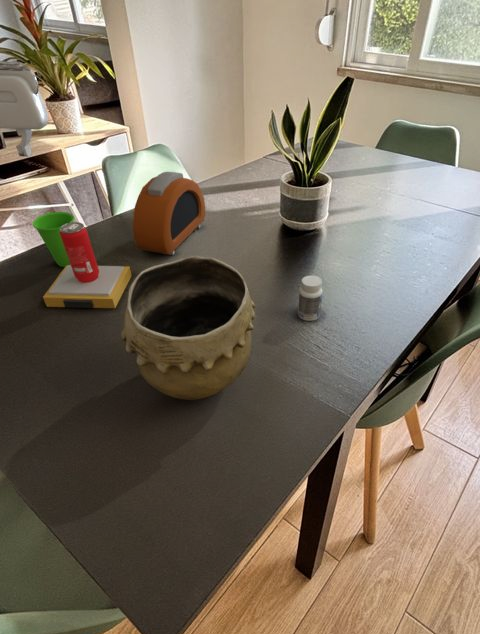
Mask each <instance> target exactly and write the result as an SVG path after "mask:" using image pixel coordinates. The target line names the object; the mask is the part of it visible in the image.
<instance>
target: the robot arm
mask: <svg viewBox="0 0 480 634" xmlns="http://www.w3.org/2000/svg"><path fill="white" fill-rule="evenodd" d="M42 96H43V95H42V94H41V91H40V89H39V83H38V80H37V77H36V74H35V72H34V71H33V70H32V69H31V68H30V67H29V66H27V65H25V64H24V63H23V61H22V62H21V61H17V60H14V61H6V60H0V129H9V130H16V133H17V135H18V137H19V136H20V137H21V141H20V143H18V144H17V145H15V148H16V150H17V152H18V156H19V157H24V158H25V157H27V158H28V157H31V156H32V153H33V152H32V148H31V145H30V143H31V139H32V135H33V131H34V130H35V131H38V130H39V131H40V130H42V129H43V128H45V127H46V126H47V125H48V124H49V121H50V116H49V112H48V109H47V107H46V103H45V101H44V98H43V97H42Z"/></svg>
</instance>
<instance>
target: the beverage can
mask: <svg viewBox="0 0 480 634" xmlns="http://www.w3.org/2000/svg"><path fill="white" fill-rule="evenodd" d="M60 236H61V239H62V242H63V245H64V247H65V250H66V253H67V256H68V259H69V261H70V264H71V267H72V270H73V273H74V276H75V277H76V278H77V279H78V281H79V282H81V283H90V282H93V281H95V280H97V279H98V277H99V269H98V266H99V265H98V262H97V259H96V256H95V253H94V250H93V246H92V243H91V240H90V237H89V233H88V230H87V228H86V226H85V224H84V223H82V222H78V221H73V222H72V223H67V224H65V225H63V226H61V227H60Z"/></svg>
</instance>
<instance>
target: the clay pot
mask: <svg viewBox="0 0 480 634" xmlns="http://www.w3.org/2000/svg"><path fill="white" fill-rule="evenodd" d="M254 308H256V304H255V303H254V301H253V300H252V298H251V296H250V292H249V289H248V285H247V283H246V280H245V278H244V276H243V275H242V274H241V273H240V271H238V270H237V269H236V268H234V267H233V266H231V265H229V264H228V263H226V262H225V261H222V260H221V259H217V258H215V257H203V256H201V255H191V256H187V257H183V258H179V259H177V260H174V261H170V262H165V263H160V264H157V265H154V266H151V267H147V268H146V269H144V270H142V271H140V273H139V274H138V275H137V276H136V277H135V278H134V280H133V281H132V283H131V284H130V286H129V289H128V294H127V305H126V309H125V312H124V320H123V330H122V331H121V334H120V337H121V341H122V342H125V352H126V353H128V354H129V355H131V354H135V356H136V364H137V366H138V369H139V372H140V374H141V376H142V378H144V380H145V381H146V382H147V384H149V385H150V386H152V387H153V388H154V389H156V390H157V391H159V392H160V393H162V394H163V395H166V396H169V397H171V398H175V399H179V400H188V401H193V400H194V401H197V400H200V399H204V398H209V397H211V396H213V395H217V394H218V393H219V392H221V391H223V390H224V389H226V388H227V387H229V386H230V385H231V384H233V383H234V382H235V381H236V380H237V379H238V378H239V377H240V376H241V374H242V373H243V372H244V370H245V368H246V367H247V364H248V361H249V359H250V355H251V349H252V333H251V331H253V330H254V328H255V327H254V324H253V323H252V321H253V320H255V319H256V312H255V310H254Z"/></svg>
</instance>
